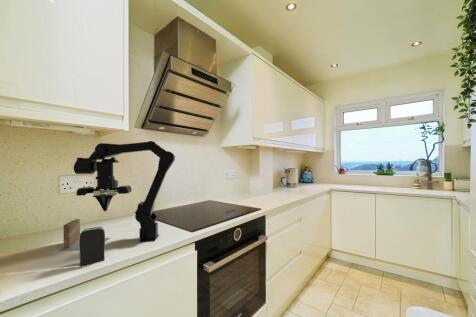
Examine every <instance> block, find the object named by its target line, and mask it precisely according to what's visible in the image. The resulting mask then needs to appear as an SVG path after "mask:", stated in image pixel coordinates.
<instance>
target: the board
mask: <svg viewBox="0 0 476 317" xmlns="http://www.w3.org/2000/svg"><path fill="white" fill-rule="evenodd" d="M80 233H81V219H80V218H76V219H73V220H70V221H68V222H67V223H65V224H63V248H64V249H65V248H70V247H71V246H73V245H74V244H76V243H77V242H78V241H79V236H80Z"/></svg>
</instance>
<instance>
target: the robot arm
mask: <svg viewBox="0 0 476 317" xmlns="http://www.w3.org/2000/svg"><path fill="white" fill-rule="evenodd" d="M147 151H150V152H151V153H153V154H154V155H156V156H157V157H158V159H159V160H158V164H157V170H156V173H155V176H154V178H153V180H152V183H151V185H150V188H149V189H148V192H147V195H146V198H144V201H140V202H139V203H138V204H137V208H136V211H134V214H135V215H134V218H135V220H136V221H137V223H138V224H139V225H140V228H139V231H138V232H139V233H138V234H139V240H138V241H139V242H151V241H152V242H153V241H156V240H157V239H158V237H159V236H160V234H159V230H158V228H159V222H157V221H158V219H159V216H158V215H157V214H156V213H154V211H155V210H154V209H155V205H156V204H155V203H156V199H157V196H158V194H159V192H160V189H161V188H162V185H163V182H164V179H165V177H166V175H167V174H168V171H169V170H170V168H172V166H173V164H174V162H175V161H176V156H175V153H173V152H172V151H168V150H166V149H164V148H163V147H161V146H160V145H159V144H157V142H155V141H153V140H149V141H144V142H143V141H142V142H133V143H122V144H120V143H119V144H117V143H103V142H102V143H101V142H100V143H98V144H97V145H96V146H95V147H94V150H93V152H92V153H91V154H90V155H89V157H76V161H75V163H74V165H73V172H74V173H75V174H76V175H93V174H95V172H96V176H95V180H96V186H95V187H94V186H83V187H78V188H77V189H76V192H75V193H76V195H75V196H76V197H77V196H78V197H79V196H80V197H81V196H86V195H87V194H93V195H92V198H95V199H96V200H97V202H98V203H99V205H100V207H101V209H102V211H103V212H107V211H108V209H109V206H110V203H111V201H112V199H113V198H114V196H116V195H117V194H119V195H122V194H123V195H124V194H125V195H126V194H129V193H131V192H132V187H131V185H120V186H119V181H118V180H117V179H115V175H114V163H115V164H117V163H120V161H119V160H118V159H116V156H119V155H122V154H128V153H137V152H147Z"/></svg>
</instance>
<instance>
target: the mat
mask: <svg viewBox="0 0 476 317" xmlns="http://www.w3.org/2000/svg"><path fill="white" fill-rule="evenodd" d="M110 239H111V237H105V243H106V242H107V241H108V240H110ZM76 251H79V241H78V242H77V243H76V244H74V245H73V246H71V247H70V248H65V249H64V247H62V248H60V249H59V250H57V252H76Z"/></svg>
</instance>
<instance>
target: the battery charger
mask: <svg viewBox="0 0 476 317" xmlns="http://www.w3.org/2000/svg"><path fill="white" fill-rule="evenodd" d="M105 238H106V232H105V229H104V227H103V226H95V227H89V228H84V229H83V230H82V231H80V236H79V267H85V266H89V265H93V264H96V263H102V262H104V261H105V258H106V257H105V250H106V247H105V246H106V242H105Z"/></svg>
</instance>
